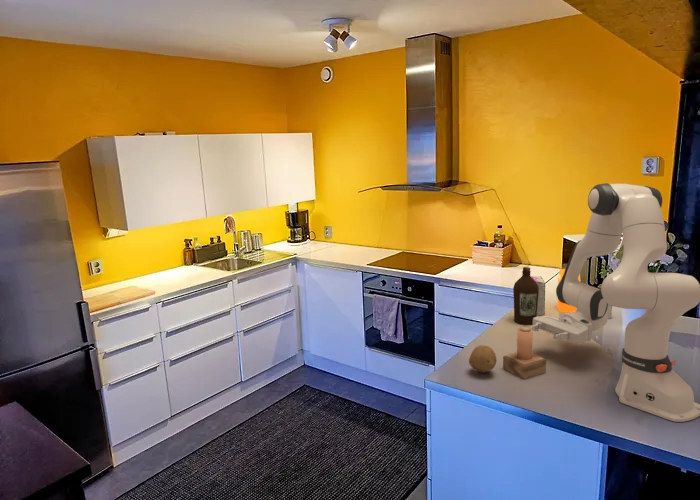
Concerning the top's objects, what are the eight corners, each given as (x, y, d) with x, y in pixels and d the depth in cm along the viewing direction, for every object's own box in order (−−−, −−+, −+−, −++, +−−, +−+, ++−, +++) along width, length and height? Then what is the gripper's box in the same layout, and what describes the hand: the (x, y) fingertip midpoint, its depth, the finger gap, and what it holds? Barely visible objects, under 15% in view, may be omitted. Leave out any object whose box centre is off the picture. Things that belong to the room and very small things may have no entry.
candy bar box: (529, 308, 230) (530, 276, 227) (540, 308, 229) (541, 276, 226) (533, 316, 219) (534, 282, 216) (544, 316, 218) (546, 282, 215)
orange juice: (579, 312, 221) (581, 271, 217) (558, 311, 224) (560, 270, 220) (576, 307, 228) (578, 267, 225) (557, 306, 231) (558, 266, 227)
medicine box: (609, 316, 215) (610, 297, 213) (611, 319, 211) (612, 300, 209) (590, 315, 217) (591, 297, 216) (592, 318, 213) (593, 300, 211)
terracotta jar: (535, 357, 164) (536, 328, 162) (524, 361, 162) (525, 331, 160) (524, 352, 169) (525, 324, 166) (513, 355, 166) (514, 326, 164)
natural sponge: (501, 376, 162) (502, 349, 160) (477, 380, 160) (477, 352, 158) (488, 365, 171) (489, 339, 169) (466, 369, 169) (466, 342, 167)
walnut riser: (545, 372, 164) (546, 358, 163) (524, 379, 160) (524, 365, 159) (523, 361, 173) (524, 349, 172) (503, 368, 168) (503, 355, 167)
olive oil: (510, 317, 219) (511, 265, 214) (533, 317, 218) (535, 264, 213) (515, 325, 208) (517, 270, 203) (540, 325, 207) (542, 270, 202)
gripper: (548, 309, 182) (521, 316, 176) (596, 325, 164) (568, 333, 158) (547, 324, 183) (521, 332, 178) (595, 342, 165) (567, 350, 159)
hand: (543, 332), depth 168 cm, fingers open, 8 cm apart
